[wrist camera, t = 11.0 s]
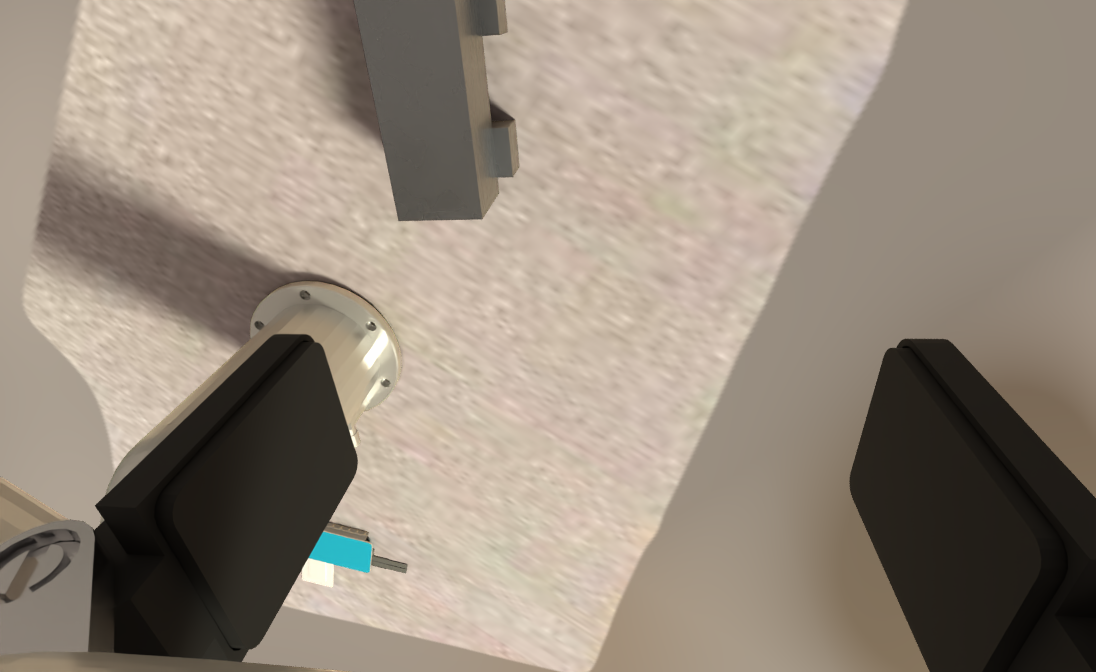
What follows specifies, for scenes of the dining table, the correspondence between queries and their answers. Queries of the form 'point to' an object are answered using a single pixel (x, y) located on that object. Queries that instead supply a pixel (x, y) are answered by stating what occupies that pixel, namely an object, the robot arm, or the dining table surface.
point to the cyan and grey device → (343, 555)
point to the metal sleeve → (437, 104)
